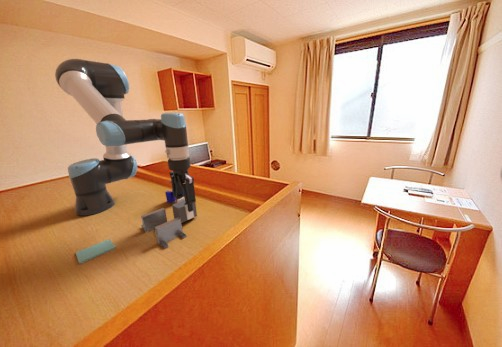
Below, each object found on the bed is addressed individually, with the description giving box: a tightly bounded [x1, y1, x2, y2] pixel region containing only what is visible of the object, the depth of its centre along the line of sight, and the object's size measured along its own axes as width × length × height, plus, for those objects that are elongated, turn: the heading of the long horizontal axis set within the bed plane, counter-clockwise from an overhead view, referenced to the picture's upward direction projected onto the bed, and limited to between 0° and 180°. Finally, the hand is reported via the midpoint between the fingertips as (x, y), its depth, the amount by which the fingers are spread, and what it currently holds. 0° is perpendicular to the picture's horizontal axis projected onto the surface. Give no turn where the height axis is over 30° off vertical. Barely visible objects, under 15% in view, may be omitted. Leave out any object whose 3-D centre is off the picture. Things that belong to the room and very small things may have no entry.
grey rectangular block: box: [171, 200, 198, 224], centre depth 76 cm, size 5×7×6 cm
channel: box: [140, 207, 188, 249], centre depth 70 cm, size 19×8×6 cm, turn 48°
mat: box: [75, 238, 116, 265], centre depth 62 cm, size 7×9×1 cm
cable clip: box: [164, 190, 184, 204], centre depth 99 cm, size 12×4×6 cm, turn 157°
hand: (186, 215), depth 77 cm, fingers closed on grey rectangular block, 5 cm apart
